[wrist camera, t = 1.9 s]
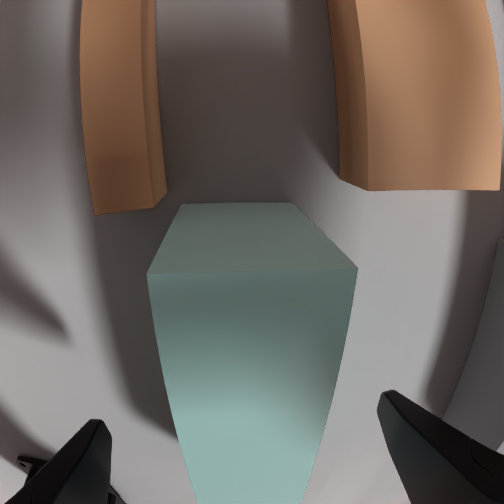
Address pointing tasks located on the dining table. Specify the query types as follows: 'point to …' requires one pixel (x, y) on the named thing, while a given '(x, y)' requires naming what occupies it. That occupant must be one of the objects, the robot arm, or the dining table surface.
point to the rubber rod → (484, 371)
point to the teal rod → (249, 344)
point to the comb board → (347, 94)
